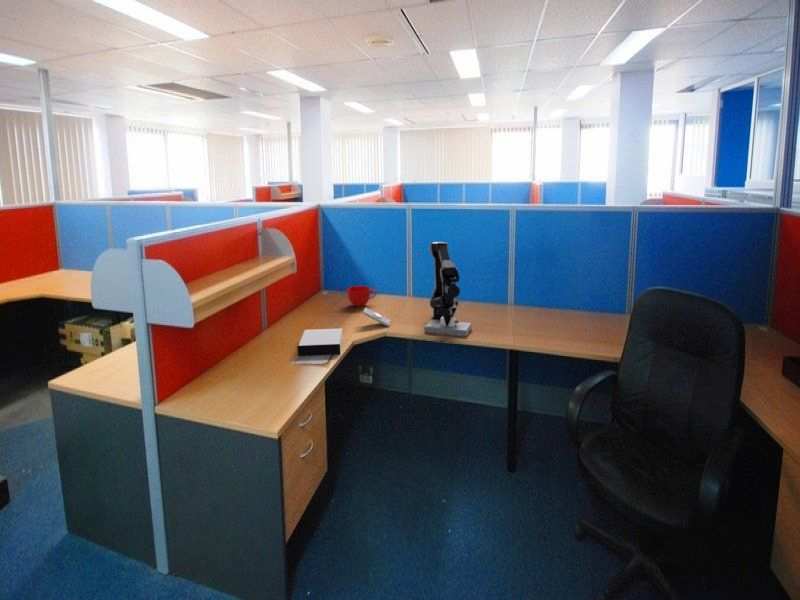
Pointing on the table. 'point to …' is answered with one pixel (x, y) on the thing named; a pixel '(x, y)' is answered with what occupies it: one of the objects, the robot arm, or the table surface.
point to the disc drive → (320, 342)
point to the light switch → (376, 316)
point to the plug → (451, 323)
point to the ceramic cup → (359, 295)
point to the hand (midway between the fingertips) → (448, 324)
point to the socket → (448, 328)
